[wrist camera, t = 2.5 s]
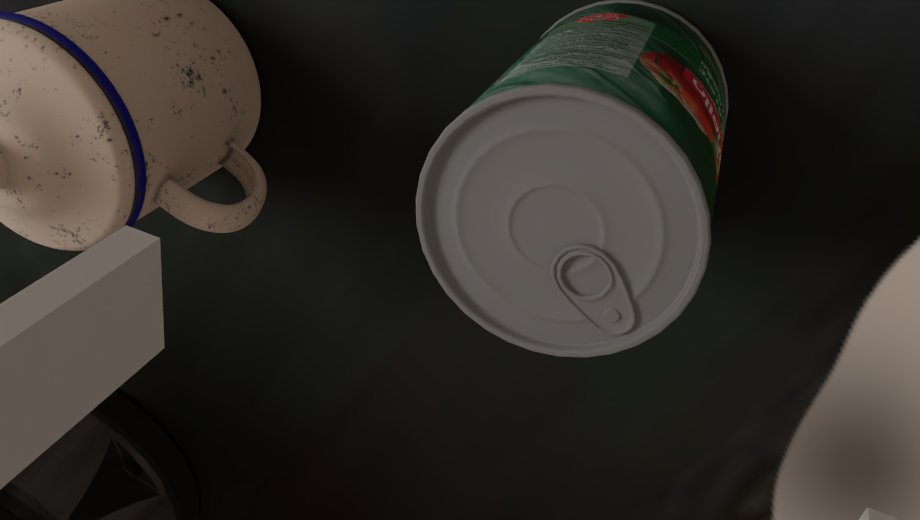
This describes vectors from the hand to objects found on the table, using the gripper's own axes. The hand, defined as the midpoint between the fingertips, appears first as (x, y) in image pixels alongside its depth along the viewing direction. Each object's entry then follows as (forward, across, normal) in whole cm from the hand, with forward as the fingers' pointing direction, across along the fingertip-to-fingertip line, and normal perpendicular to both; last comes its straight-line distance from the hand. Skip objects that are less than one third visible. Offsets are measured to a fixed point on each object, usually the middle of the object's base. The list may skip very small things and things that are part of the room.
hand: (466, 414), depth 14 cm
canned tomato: (+19, 0, 0) cm, 19 cm away
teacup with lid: (+19, +18, +5) cm, 27 cm away
